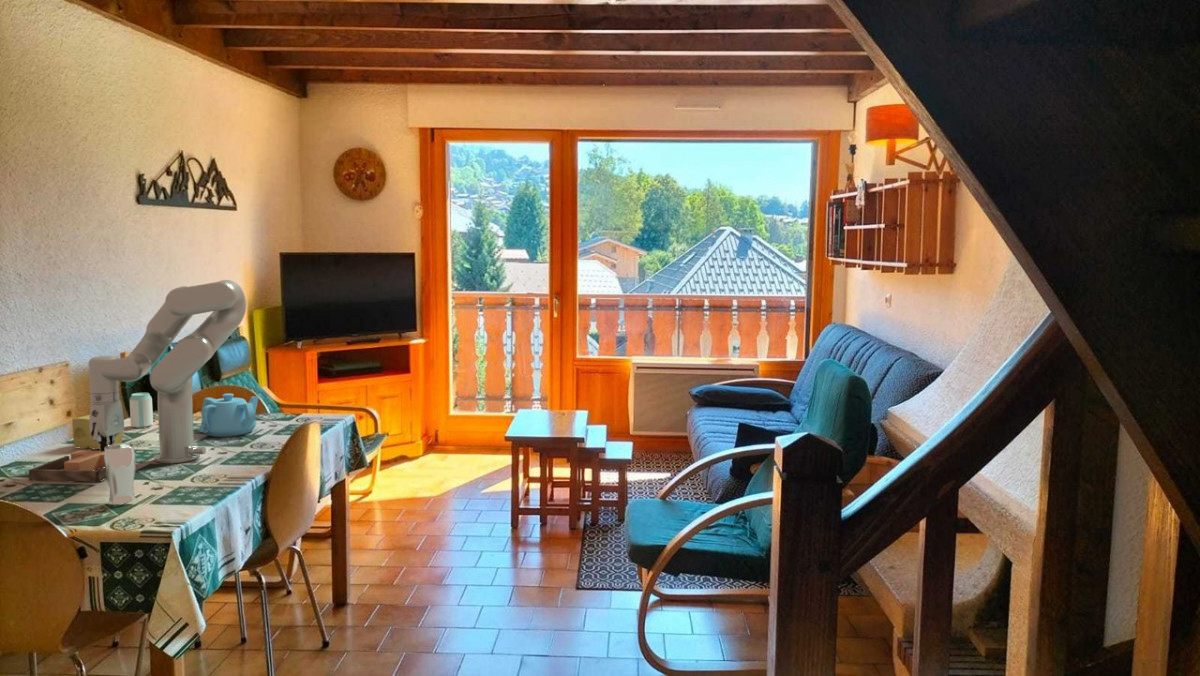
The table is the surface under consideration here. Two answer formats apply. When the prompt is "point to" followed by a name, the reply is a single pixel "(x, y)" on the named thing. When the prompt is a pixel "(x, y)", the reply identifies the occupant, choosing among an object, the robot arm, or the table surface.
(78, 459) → the t block
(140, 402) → the can
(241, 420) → the teapot
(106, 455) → the beer glass
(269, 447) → the table surface
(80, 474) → the brown wooden rack
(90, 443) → the cheese
